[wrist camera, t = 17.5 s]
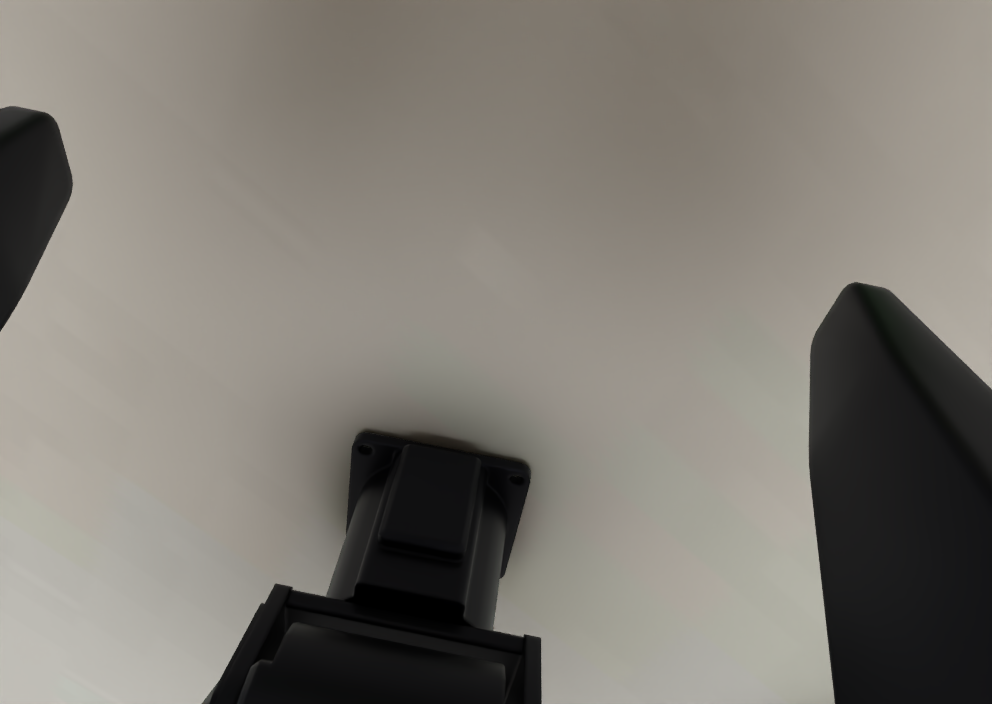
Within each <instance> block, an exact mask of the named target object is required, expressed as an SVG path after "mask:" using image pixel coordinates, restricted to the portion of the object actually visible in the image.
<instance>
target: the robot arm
mask: <svg viewBox="0 0 992 704" xmlns="http://www.w3.org/2000/svg"><path fill="white" fill-rule="evenodd" d="M72 186H73V182H72V174H71V170H70V167H69V163H68V159H67V156H66V152H65V148H64V145H63V141H62V137H61V134H60V130H59V127H58V124H57V122H56V121H55V119H54V118H53V117H52V116H50V115H49V114H48V113H45V112H40V111H36V110H31V109H26V108H21V107H16V106H10V107H5V108H2V109H0V331H1V330H2V328H3V327H4V325H5V324H6V322H7V320H8V319H9V317H10V316H11V314H12V312H13V311H14V309H15V307H16V306H17V304H18V302H19V301H20V299H21V297H22V295H23V293H24V291H25V289H26V288H27V286H28V284H29V282H30V280H31V278H32V276H33V273H34V271H35V269H36V267H37V265H38V263H39V261H40V259H41V257H42V255H43V253H44V251H45V249H46V247H47V245H48V243H49V240H50V238H51V236H52V234H53V232H54V230H55V228H56V226H57V224H58V222H59V220H60V218H61V216H62V214H63V212H64V210H65V208H66V205H67V203H68V201H69V199H70V196H71V193H72ZM364 445H367V446H369V447H366V446H364ZM809 468H810V481H811V490H812V499H813V508H814V517H815V526H816V535H817V544H818V553H819V562H820V572H821V581H822V590H823V599H824V608H825V617H826V626H827V635H828V644H829V653H830V662H831V671H832V680H833V689H834V698H835V704H992V389H991V388H990V387H989V386H988V385H987V384H986V383H985V382H983V381H982V380H981V379H980V378H979V377H978V376H977V375H976V374H975V373H974V372H973V371H972V370H971V369H970V368H969V367H968V366H967V365H966V364H965V363H964V362H963V361H962V360H961V359H960V358H959V357H958V356H957V355H956V354H955V353H954V352H953V351H952V350H951V349H950V348H948V347H947V346H946V345H945V344H944V343H943V342H942V341H941V340H940V339H939V338H938V337H937V336H936V335H935V334H934V333H933V332H932V331H931V330H930V329H929V328H928V327H927V326H926V325H925V324H924V323H923V322H922V321H921V320H920V319H919V318H918V317H917V316H916V315H915V314H914V313H912V312H911V311H910V310H909V309H908V308H907V307H906V306H905V305H904V304H903V303H902V302H901V301H900V300H899V299H898V298H897V297H896V296H895V295H894V294H893V293H892V292H891V291H890V290H888V289H886V288H882V287H877V286H873V285H868V284H863V283H858V282H854V283H851V284H848V285H847V286H846V287H845V288H844V289H843V290H842V292H841V293H840V295H839V296H838V298H837V299H836V301H835V303H834V304H833V306H832V307H831V309H830V311H829V312H828V314H827V315H826V317H825V318H824V320H823V322H822V323H821V325H820V326H819V328H818V330H817V331H816V333H815V336H814V338H813V341H812V345H811V353H810V409H809ZM513 475H518V476H521V477H515V476H513ZM530 479H531V470H530V469H529V467H528V466H526V465H525V464H522V463H519V462H514V461H509V460H504V459H499V458H494V457H489V456H484V455H479V454H474V453H469V452H464V451H459V450H454V449H449V448H444V447H439V446H433V445H428V444H423V443H418V442H413V441H408V440H403V439H398V438H393V437H388V436H383V435H378V434H373V433H365V432H364V433H360V434H358V435H357V436H356V438H355V441H354V443H353V446H352V454H351V469H350V484H349V499H348V514H347V528H346V537H345V540H344V543H343V546H342V549H341V553H340V556H339V559H338V562H337V565H336V568H335V571H334V574H333V577H332V580H331V583H330V586H329V589H328V592H327V595H326V597H325V596H320V595H315V594H310V593H305V592H300V591H296V590H293V587H290V586H286V585H281V584H275V585H274V587H273V589H272V591H271V593H270V595H269V597H268V599H267V600H266V602H265V604H263V603H261V604H260V606H259V608H258V610H257V612H256V613H255V615H254V617H253V619H252V621H251V623H250V625H249V627H248V628H247V630H246V632H245V634H244V636H243V638H242V640H241V641H240V643H239V645H238V647H237V649H236V651H235V653H234V654H233V656H232V658H231V660H230V662H229V664H228V666H227V667H226V669H225V671H224V673H223V675H222V677H221V679H220V680H219V682H218V683H217V684H216V686H215V687H214V688H213V690H212V691H211V692H210V694H209V695H208V696H207V698H206V699H205V700H204V701H203V703H202V704H541V638H540V637H535V636H530V635H525V634H524V637H521V636H516V635H511V634H506V633H501V632H496V631H493V625H494V617H495V610H496V602H497V595H498V587H499V580H500V578H502V577H503V576H504V574H505V571H506V568H507V564H508V560H509V557H510V553H511V550H512V546H513V542H514V539H515V535H516V532H517V528H518V524H519V521H520V517H521V514H522V510H523V506H524V503H525V499H526V496H527V492H528V488H529V485H530Z"/></svg>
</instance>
